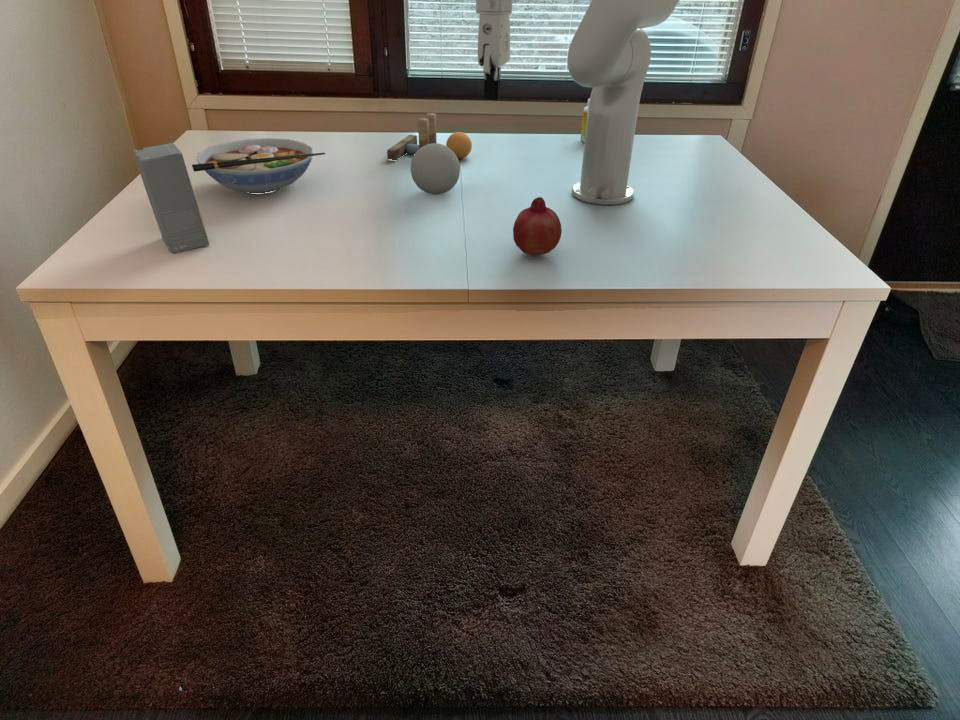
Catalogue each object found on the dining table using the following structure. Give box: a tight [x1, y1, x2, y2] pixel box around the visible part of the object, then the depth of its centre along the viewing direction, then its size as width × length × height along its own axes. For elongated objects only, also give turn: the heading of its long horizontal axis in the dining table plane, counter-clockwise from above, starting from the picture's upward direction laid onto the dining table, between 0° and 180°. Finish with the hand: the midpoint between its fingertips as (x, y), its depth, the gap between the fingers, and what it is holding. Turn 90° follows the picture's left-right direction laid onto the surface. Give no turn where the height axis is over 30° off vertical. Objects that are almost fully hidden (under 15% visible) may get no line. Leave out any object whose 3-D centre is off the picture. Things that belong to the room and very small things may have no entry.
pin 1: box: [417, 117, 429, 149], centre depth 150 cm, size 2×2×9 cm
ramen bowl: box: [191, 137, 326, 194], centre depth 132 cm, size 25×23×8 cm
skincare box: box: [132, 142, 210, 254], centre depth 107 cm, size 8×7×16 cm
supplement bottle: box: [580, 98, 590, 143], centre depth 165 cm, size 6×6×10 cm
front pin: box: [406, 144, 419, 155], centre depth 154 cm, size 2×2×9 cm
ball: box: [410, 142, 461, 196], centre depth 130 cm, size 10×10×10 cm
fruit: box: [512, 196, 563, 256], centre depth 106 cm, size 8×8×10 cm
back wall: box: [386, 134, 418, 161], centre depth 155 cm, size 14×2×2 cm, turn 164°
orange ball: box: [445, 131, 473, 160], centre depth 152 cm, size 6×6×6 cm
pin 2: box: [425, 112, 438, 144], centre depth 154 cm, size 2×2×9 cm
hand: (491, 98), depth 143 cm, fingers closed
